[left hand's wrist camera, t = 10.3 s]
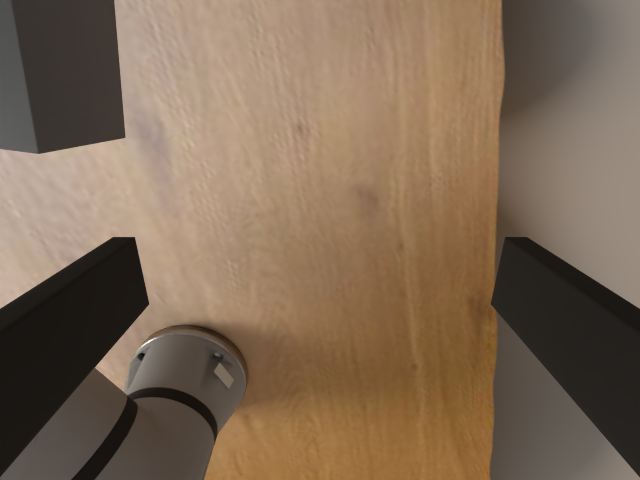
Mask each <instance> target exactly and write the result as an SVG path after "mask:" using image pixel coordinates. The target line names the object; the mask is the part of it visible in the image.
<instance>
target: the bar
mask: <svg viewBox="0 0 640 480" xmlns="http://www.w3.org/2000/svg"><path fill="white" fill-rule="evenodd" d="M121 138H125V127H124V115H123V103H122V91H121V79H120V67H119V54H118V42H117V30H116V18H115V6H114V0H0V149H5V150H13V151H21V152H29V153H37V154H41V153H46V152H51V151H57V150H62V149H68V148H73V147H78V146H84V145H89V144H94V143H100V142H105V141H111V140H116V139H121Z"/></svg>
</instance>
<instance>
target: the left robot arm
mask: <svg viewBox="0 0 640 480" xmlns="http://www.w3.org/2000/svg"><path fill="white" fill-rule="evenodd" d="M148 305H149V301H148V296H147V292H146V287H145V282H144V278H143V273H142V268H141V264H140V259H139V254H138V250H137V245H136V241H135V237H113V238H111V239H110V240H108V241H106V242H105V243H103V244H102V245H100V246H99V247H97V248H95V249H94V250H92V251H91V252H89V253H87V254H86V255H84V256H83V257H81V258H80V259H78V260H76V261H75V262H73V263H72V264H70V265H69V266H67V267H65V268H64V269H62V270H61V271H59V272H58V273H56V274H54V275H53V276H51V277H50V278H48V279H47V280H45V281H43V282H42V283H40V284H39V285H37V286H36V287H34V288H32V289H31V290H29V291H28V292H26V293H25V294H23V295H21V296H20V297H18V298H17V299H15V300H14V301H12V302H10V303H9V304H7V305H6V306H4V307H3V308H1V309H0V480H204V477H205V474H206V471H207V467H208V464H209V461H210V457H211V454H212V451H213V447H214V444H215V441H216V438H217V435H218V433H219V432H220V430H221V429H222V428H223V426H224V425H225V424H226V422H227V421H228V419H229V418H230V417H231V415H232V414H233V412H234V411H235V410H236V408H237V407H238V406H239V404H240V403H241V401H242V399H243V397H244V394H245V390H246V386H247V382H248V369H247V365H246V362H245V360H244V358H243V356H242V354H241V353H240V351H239V350H238V349H237V348H236V347H235V346H234V345H233V344H232V343H231V342H230V341H229V340H227V339H226V338H224V337H223V336H221V335H219V334H217V333H215V332H213V331H210V330H208V329H204V328H201V327H195V326H174V327H169V328H165V329H162V330H160V331H158V332H156V333H154V334H152V335H151V336H150V337H148V338H147V339H146V340H145V341H144V343H143V344H142V345H141V346H140V348H139V349H138V350H137V352H136V353H135V355H134V356H133V358H132V361H131V364H130V368H129V371H128V375H127V379H126V383H125V387H124V391H122V390H121V389H119V388H118V387H117V386H116V385H114V384H113V383H112V382H111V381H110V380H109V379H107V378H106V377H105V376H104V375H103V374H102V373H100V372H99V371H98V370H97V369H96V368H95V367H96V365H97V364H98V363H99V362H100V361H101V360H102V358H103V357H104V356H105V355H106V354H107V353H108V351H109V350H110V349H111V348H112V347H113V346H114V344H115V343H116V342H117V341H118V340H119V339H120V337H121V336H122V335H123V334H124V333H125V332H126V331H127V329H128V328H129V327H130V326H131V325H132V324H133V322H134V321H135V320H136V319H137V318H138V317H139V315H140V314H141V313H142V312H143V311H144V310H145V308H146V307H147V306H148ZM491 305H492V306H493V307H494V308H495V310H496V311H497V312H498V313H499V314H500V315H501V317H502V318H503V319H504V320H505V321H506V322H507V324H508V325H509V326H510V327H511V328H512V329H513V331H514V332H515V333H516V334H517V335H518V336H519V337H520V339H521V340H522V341H523V342H524V343H525V344H526V346H527V347H528V348H529V349H530V350H531V351H532V353H533V354H534V355H535V356H536V357H537V358H538V360H539V361H540V362H541V363H542V364H543V365H544V367H545V368H546V369H547V370H548V371H549V372H550V373H551V375H552V376H553V377H554V378H555V379H556V380H557V382H558V383H559V384H560V385H561V386H562V387H563V389H564V390H565V391H566V392H567V393H568V394H569V396H570V397H571V398H572V399H573V400H574V401H575V403H576V404H577V405H578V406H579V407H580V408H581V409H582V411H583V412H584V413H585V414H586V415H587V416H588V418H589V419H590V420H591V421H592V422H593V423H594V425H595V426H596V427H597V428H598V429H599V430H600V432H601V433H602V434H603V435H604V436H605V437H606V438H607V440H608V441H609V442H610V443H611V444H612V445H613V447H614V448H615V449H616V450H617V451H618V452H619V454H620V455H621V456H622V457H623V458H624V459H625V461H626V462H627V463H628V464H629V465H630V466H631V468H632V469H633V470H634V471H635V472H636V473H637V475H638V476H639V477H640V309H639V308H637V307H636V306H634V305H633V304H631V303H630V302H628V301H626V300H625V299H623V298H622V297H620V296H619V295H617V294H615V293H614V292H612V291H611V290H609V289H608V288H606V287H604V286H603V285H601V284H600V283H598V282H597V281H595V280H593V279H592V278H590V277H589V276H587V275H585V274H584V273H582V272H581V271H579V270H578V269H576V268H574V267H573V266H571V265H570V264H568V263H567V262H565V261H563V260H562V259H560V258H559V257H557V256H556V255H554V254H552V253H551V252H549V251H548V250H546V249H545V248H543V247H541V246H540V245H538V244H537V243H535V242H534V241H532V240H530V239H529V238H527V237H505V241H504V245H503V250H502V255H501V259H500V264H499V269H498V273H497V278H496V282H495V287H494V292H493V296H492V301H491Z"/></svg>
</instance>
